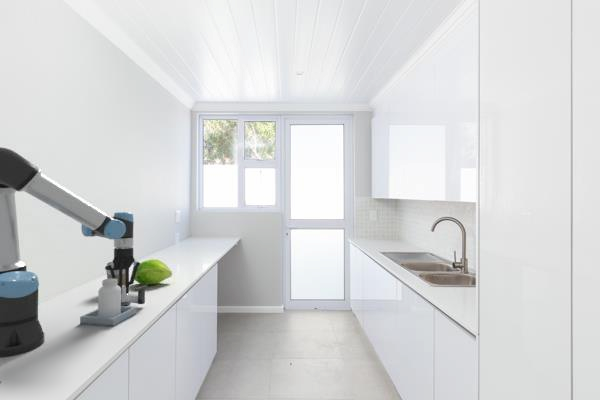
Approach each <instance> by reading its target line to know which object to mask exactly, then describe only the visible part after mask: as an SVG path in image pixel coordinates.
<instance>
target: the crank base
mask: <svg viewBox="0 0 600 400" xmlns="http://www.w3.org/2000/svg"><path fill="white" fill-rule="evenodd" d="M130 305H131V303H130V302H123V303H121V306H126V307H128V306H130Z"/></svg>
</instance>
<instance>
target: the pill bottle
mask: <svg viewBox="0 0 600 400" xmlns="http://www.w3.org/2000/svg"><path fill="white" fill-rule="evenodd" d="M117 281H118V280H117V279H114V278H111V279H107V278H106V279H105V278H104V279H103V280H102V281H101V282H102V283H101V284H102V286H101V287H99V289H98V291H97V292H98V293H97V294H98V297H97V299H98V300H97V303H98V304H97V309H98V317H106V318H114V317H116V316H118V315H120V314H121V287H120V286H118V285H117V284H118V283H117Z"/></svg>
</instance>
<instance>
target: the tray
mask: <svg viewBox="0 0 600 400" xmlns="http://www.w3.org/2000/svg"><path fill="white" fill-rule="evenodd" d="M135 315H137V306H121V314H120V315H118V316H116V317H114V318H106V317H98V308H96V309H94V310H92V311H90V312H87V313H86V314H83V315H81V316H79V324H80V325H91V326H102V327H115V326H117V325H119V324H120V323H122V322H124V321H127V320H128V319H130V318H131V317H133V316H135Z"/></svg>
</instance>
